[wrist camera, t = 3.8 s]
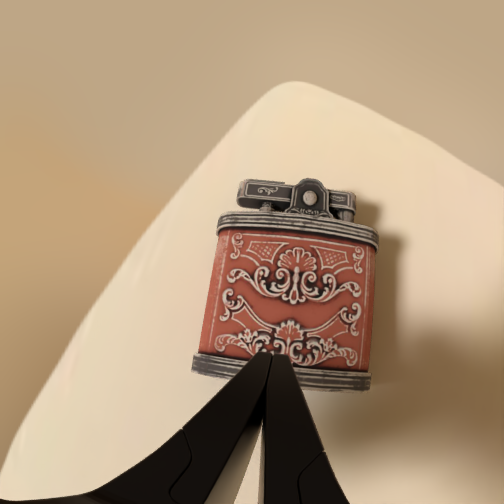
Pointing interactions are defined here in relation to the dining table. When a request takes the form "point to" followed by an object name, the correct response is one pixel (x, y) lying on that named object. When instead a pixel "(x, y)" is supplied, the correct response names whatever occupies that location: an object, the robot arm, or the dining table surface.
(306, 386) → the lighter
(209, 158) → the dining table surface
